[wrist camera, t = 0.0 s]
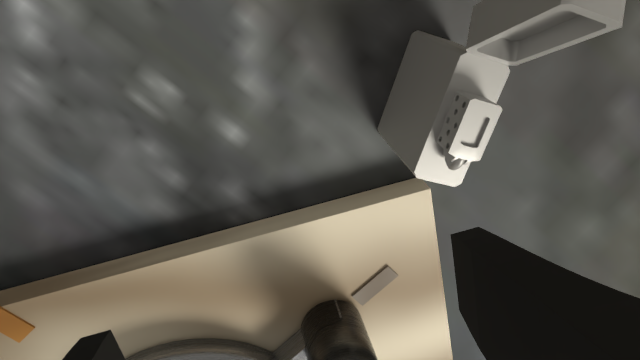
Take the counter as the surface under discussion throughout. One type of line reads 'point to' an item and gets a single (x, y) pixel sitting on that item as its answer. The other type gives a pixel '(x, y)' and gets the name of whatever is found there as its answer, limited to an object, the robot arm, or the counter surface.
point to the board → (254, 284)
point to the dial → (295, 353)
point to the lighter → (476, 78)
